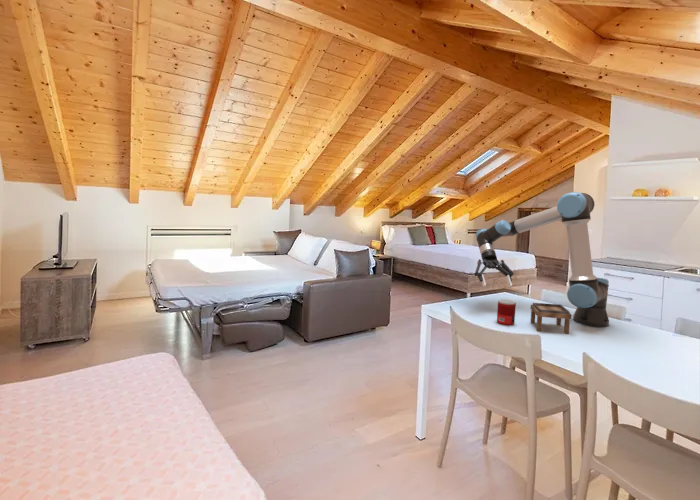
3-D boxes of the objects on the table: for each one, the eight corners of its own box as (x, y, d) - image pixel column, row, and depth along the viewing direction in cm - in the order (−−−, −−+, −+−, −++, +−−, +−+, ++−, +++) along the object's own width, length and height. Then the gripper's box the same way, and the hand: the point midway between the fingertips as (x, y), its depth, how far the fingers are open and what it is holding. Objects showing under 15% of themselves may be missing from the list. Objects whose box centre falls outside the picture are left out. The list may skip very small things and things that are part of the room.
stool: (560, 324, 183) (562, 304, 182) (569, 334, 170) (571, 312, 169) (529, 322, 187) (530, 302, 185) (536, 331, 173) (538, 309, 172)
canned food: (515, 326, 180) (517, 304, 179) (498, 325, 182) (499, 302, 180) (512, 321, 187) (513, 300, 186) (495, 320, 189) (496, 298, 188)
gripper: (507, 258, 210) (518, 290, 197) (463, 257, 209) (471, 290, 196) (513, 250, 204) (524, 283, 191) (467, 249, 203) (475, 282, 190)
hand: (497, 286), depth 193 cm, fingers open, 13 cm apart
